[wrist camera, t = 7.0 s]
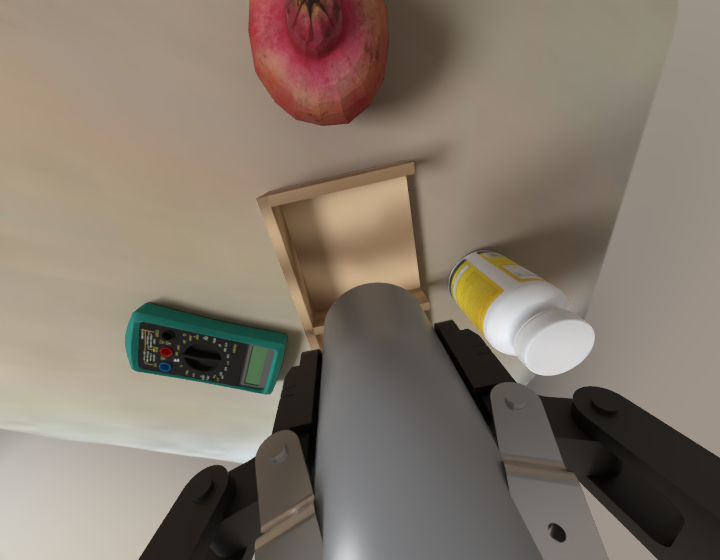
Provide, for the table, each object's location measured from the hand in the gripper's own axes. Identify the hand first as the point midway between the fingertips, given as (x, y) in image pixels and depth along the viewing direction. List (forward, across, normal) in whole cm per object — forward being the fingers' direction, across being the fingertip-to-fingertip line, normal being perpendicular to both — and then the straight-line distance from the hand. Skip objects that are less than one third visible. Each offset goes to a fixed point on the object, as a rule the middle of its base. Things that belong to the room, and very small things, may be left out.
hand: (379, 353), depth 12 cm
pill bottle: (+16, -12, +6) cm, 21 cm away
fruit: (+16, 0, -14) cm, 21 cm away
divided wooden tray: (+16, 0, +6) cm, 17 cm away
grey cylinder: (+2, 0, 0) cm, 2 cm away
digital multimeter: (+16, +17, +8) cm, 25 cm away
